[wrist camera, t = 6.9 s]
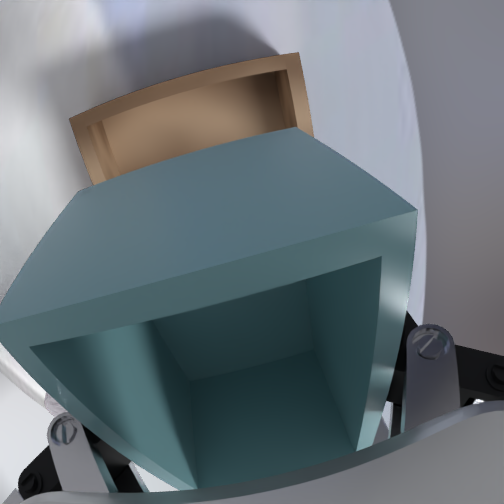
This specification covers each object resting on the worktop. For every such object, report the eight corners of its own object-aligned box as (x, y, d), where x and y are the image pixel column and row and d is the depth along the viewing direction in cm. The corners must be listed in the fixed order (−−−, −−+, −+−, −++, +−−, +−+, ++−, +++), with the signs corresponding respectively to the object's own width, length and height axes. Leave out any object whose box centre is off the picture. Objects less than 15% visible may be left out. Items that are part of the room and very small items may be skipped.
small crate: (322, 343, 15) (368, 453, 10) (181, 380, 14) (189, 495, 9) (295, 126, 9) (417, 209, 4) (78, 191, 9) (-12, 326, 4)
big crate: (309, 223, 29) (327, 249, 25) (151, 266, 28) (146, 298, 25) (280, 55, 21) (298, 52, 17) (89, 109, 20) (68, 118, 16)
